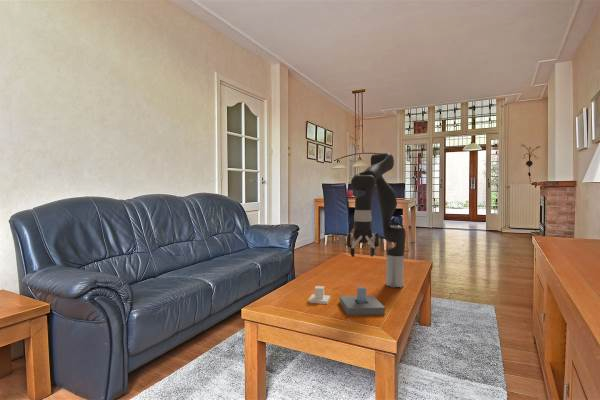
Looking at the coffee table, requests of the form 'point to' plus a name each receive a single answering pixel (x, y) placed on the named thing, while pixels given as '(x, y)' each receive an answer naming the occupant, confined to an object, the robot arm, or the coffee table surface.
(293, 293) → the coffee table surface
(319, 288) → the lid
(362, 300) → the peg
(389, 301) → the coffee table surface
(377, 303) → the socket plate
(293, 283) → the coffee table surface
